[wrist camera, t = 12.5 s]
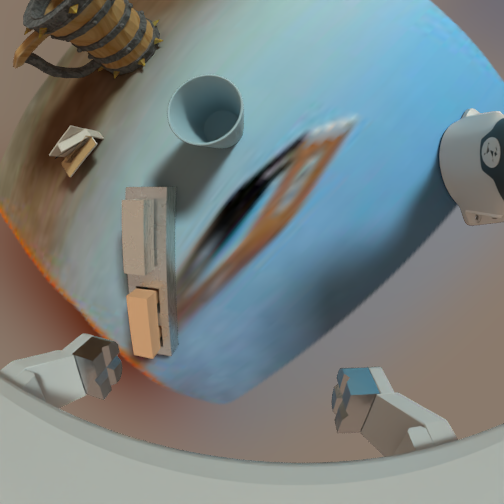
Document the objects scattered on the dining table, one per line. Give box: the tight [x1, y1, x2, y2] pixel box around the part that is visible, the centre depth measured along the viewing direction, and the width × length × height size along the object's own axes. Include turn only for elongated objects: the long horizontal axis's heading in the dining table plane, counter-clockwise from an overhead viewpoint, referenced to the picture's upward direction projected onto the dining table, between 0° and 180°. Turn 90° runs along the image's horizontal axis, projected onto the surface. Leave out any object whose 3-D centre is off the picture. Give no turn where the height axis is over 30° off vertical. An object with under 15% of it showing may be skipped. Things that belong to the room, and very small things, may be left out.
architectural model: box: [49, 125, 104, 177], centre depth 34 cm, size 3×7×7 cm, turn 129°
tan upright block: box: [126, 288, 162, 359], centre depth 38 cm, size 3×9×7 cm, turn 177°
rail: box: [122, 187, 179, 356], centre depth 36 cm, size 6×24×7 cm, turn 177°
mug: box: [13, 0, 163, 79], centre depth 23 cm, size 13×17×20 cm
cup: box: [167, 74, 244, 149], centre depth 30 cm, size 8×8×10 cm
